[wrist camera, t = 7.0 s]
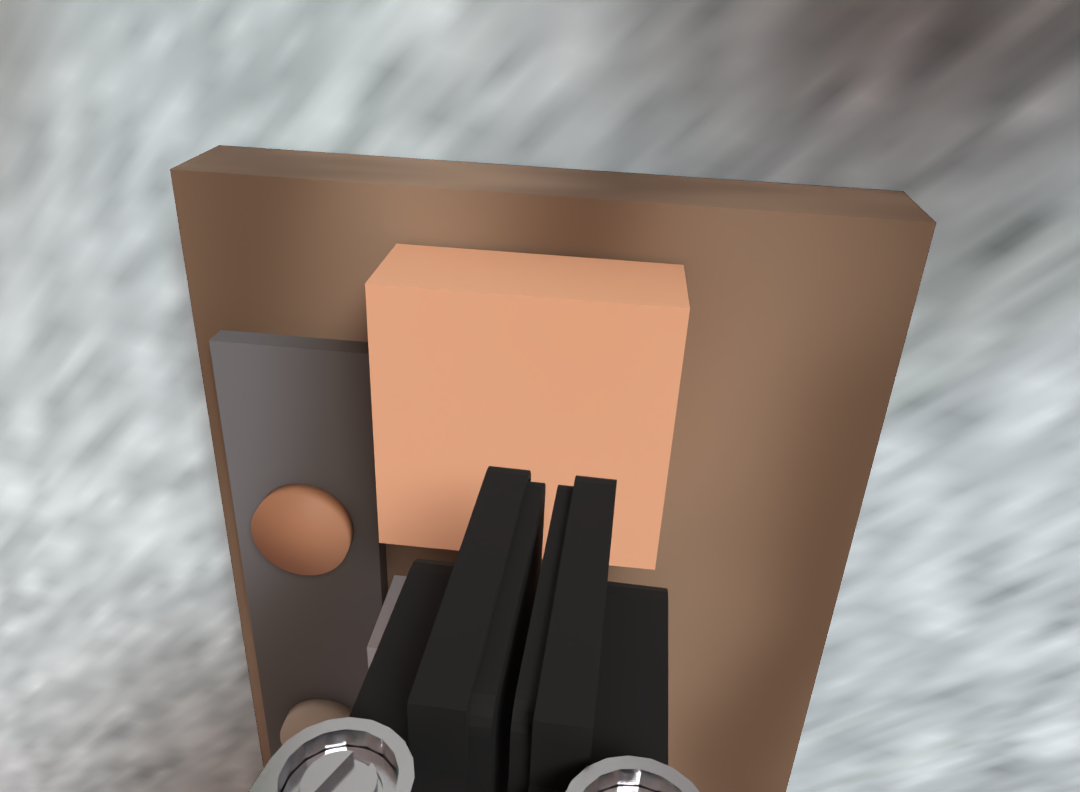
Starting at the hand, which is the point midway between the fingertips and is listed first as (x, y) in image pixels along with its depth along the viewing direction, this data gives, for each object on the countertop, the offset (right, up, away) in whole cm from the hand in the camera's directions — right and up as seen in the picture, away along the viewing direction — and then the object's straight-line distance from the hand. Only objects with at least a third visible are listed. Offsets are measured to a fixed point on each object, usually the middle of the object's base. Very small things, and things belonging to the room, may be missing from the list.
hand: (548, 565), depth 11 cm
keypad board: (0, -2, +10) cm, 10 cm away
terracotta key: (0, +2, +5) cm, 5 cm away
